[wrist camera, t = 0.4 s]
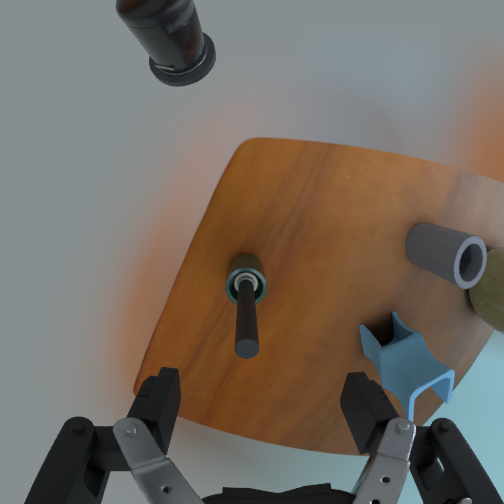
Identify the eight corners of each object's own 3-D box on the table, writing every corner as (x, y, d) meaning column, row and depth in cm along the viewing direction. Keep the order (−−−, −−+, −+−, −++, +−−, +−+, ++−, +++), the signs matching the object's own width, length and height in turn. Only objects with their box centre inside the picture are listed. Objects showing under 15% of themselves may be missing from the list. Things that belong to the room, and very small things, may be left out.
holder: (221, 267, 44) (217, 284, 37) (249, 246, 44) (249, 259, 36) (242, 292, 45) (242, 313, 38) (269, 273, 45) (274, 290, 37)
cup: (399, 239, 44) (447, 258, 30) (427, 214, 43) (479, 225, 30) (415, 272, 46) (461, 299, 32) (442, 247, 45) (491, 266, 31)
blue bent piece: (364, 357, 49) (407, 426, 30) (358, 325, 47) (409, 393, 28) (398, 342, 49) (450, 402, 29) (395, 310, 47) (456, 366, 27)
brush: (231, 269, 44) (219, 345, 22) (247, 257, 44) (250, 325, 22) (244, 284, 45) (243, 370, 23) (260, 273, 44) (274, 351, 22)
